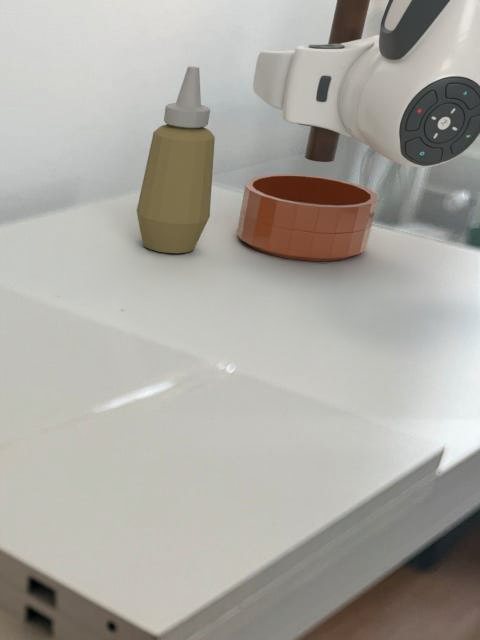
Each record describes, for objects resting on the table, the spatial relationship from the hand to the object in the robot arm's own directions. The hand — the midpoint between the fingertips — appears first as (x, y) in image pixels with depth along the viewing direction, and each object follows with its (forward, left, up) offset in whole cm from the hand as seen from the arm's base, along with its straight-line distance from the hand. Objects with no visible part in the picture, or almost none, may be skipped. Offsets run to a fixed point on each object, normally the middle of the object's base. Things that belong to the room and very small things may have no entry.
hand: (335, 66), depth 109 cm
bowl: (0, 0, -18) cm, 18 cm away
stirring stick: (0, +1, -9) cm, 9 cm away
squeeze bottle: (+16, +3, -18) cm, 25 cm away
